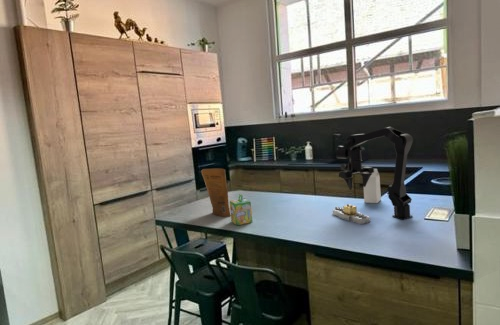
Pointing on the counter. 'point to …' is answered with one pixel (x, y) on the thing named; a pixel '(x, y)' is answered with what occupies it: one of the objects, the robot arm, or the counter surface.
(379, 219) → the counter surface
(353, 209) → the studded golden block
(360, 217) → the chrome-studded grey beam
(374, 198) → the milk carton
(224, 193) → the pancake mix bag
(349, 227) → the counter surface
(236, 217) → the chalk box
